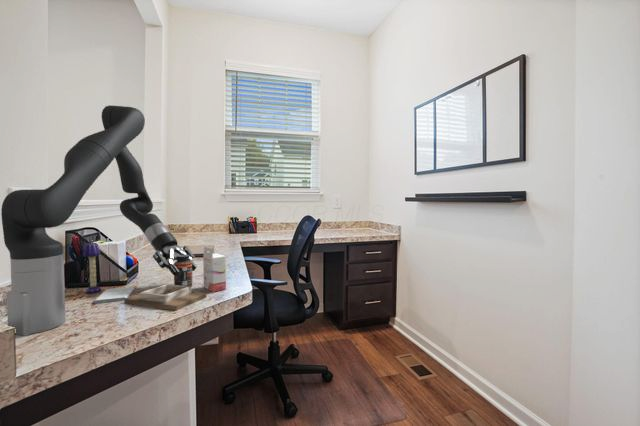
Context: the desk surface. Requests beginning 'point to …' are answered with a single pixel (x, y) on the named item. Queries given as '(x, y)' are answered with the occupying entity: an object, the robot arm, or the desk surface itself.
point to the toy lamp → (92, 266)
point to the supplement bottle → (183, 271)
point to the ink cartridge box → (214, 270)
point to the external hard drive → (114, 295)
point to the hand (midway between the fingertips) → (186, 271)
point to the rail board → (166, 297)
